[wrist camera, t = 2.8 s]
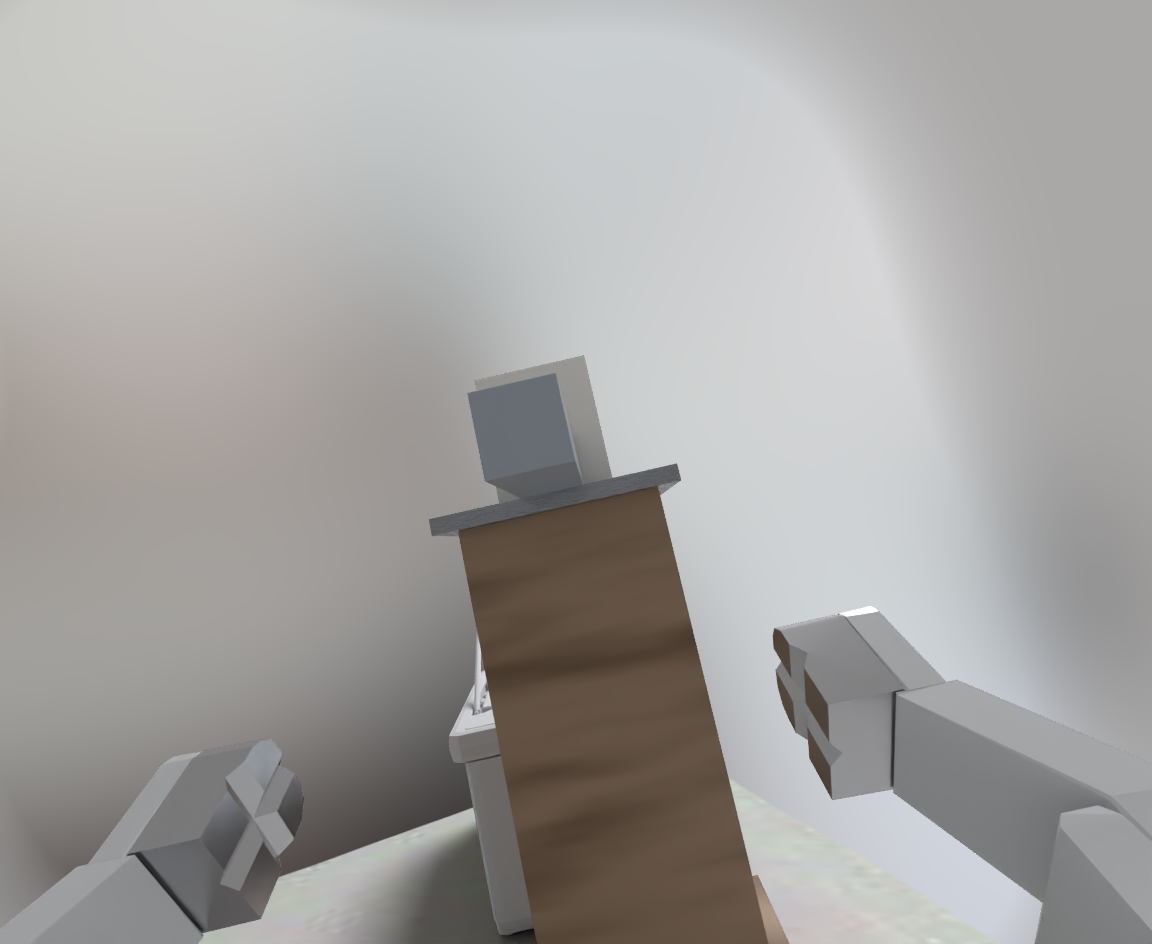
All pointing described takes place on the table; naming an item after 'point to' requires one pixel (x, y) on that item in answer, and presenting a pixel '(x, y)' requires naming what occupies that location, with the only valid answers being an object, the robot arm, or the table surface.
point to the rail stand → (607, 720)
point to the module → (539, 430)
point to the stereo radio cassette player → (491, 806)
